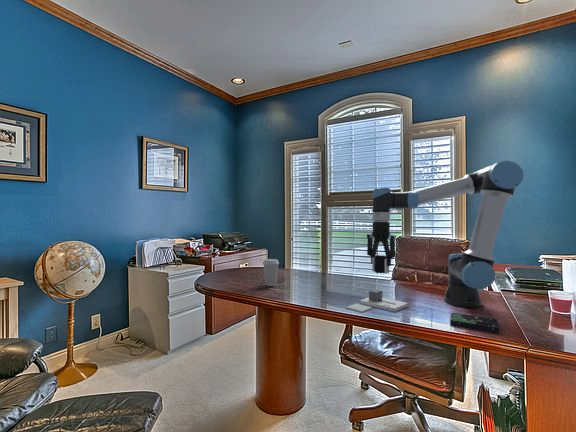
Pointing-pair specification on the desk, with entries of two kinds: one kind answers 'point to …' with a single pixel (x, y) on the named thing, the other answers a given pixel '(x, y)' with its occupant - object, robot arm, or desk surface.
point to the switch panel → (385, 304)
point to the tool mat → (359, 307)
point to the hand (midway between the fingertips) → (380, 272)
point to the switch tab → (375, 295)
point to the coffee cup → (270, 271)
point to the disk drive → (474, 323)
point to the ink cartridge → (380, 263)
